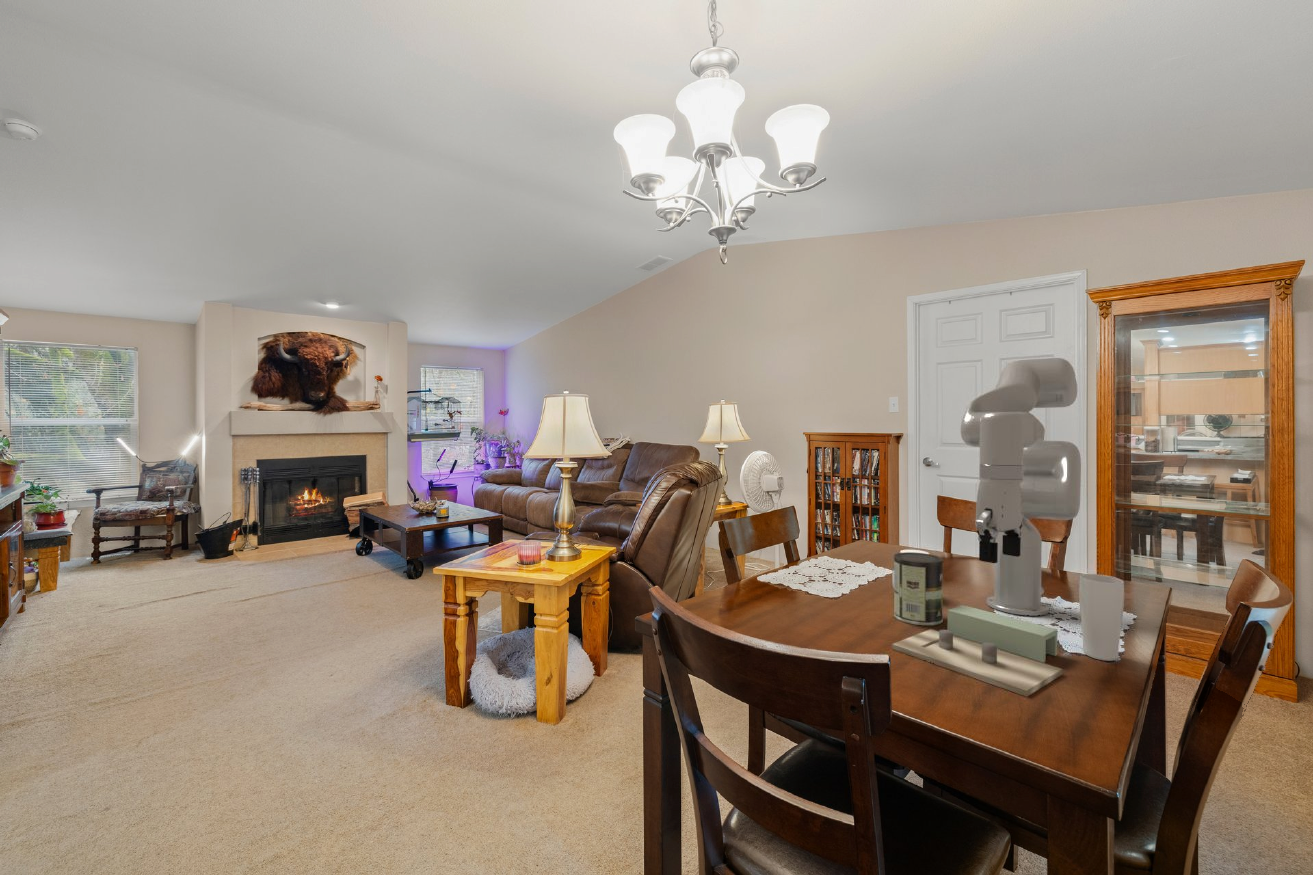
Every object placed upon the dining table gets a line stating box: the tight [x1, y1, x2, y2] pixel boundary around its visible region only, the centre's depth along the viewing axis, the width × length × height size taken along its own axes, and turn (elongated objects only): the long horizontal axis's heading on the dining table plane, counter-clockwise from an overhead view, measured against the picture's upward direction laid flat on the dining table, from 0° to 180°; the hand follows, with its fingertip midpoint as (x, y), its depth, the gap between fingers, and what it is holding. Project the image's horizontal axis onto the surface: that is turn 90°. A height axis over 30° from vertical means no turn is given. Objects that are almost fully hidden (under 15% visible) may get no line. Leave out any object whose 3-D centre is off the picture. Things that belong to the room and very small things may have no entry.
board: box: [891, 628, 1063, 697], centre depth 106 cm, size 14×24×4 cm, turn 35°
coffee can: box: [893, 552, 944, 627], centre depth 129 cm, size 10×10×14 cm
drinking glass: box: [1078, 573, 1125, 662], centre depth 108 cm, size 7×7×15 cm
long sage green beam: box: [947, 604, 1058, 664], centre depth 114 cm, size 6×18×5 cm, turn 35°
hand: (1000, 558), depth 113 cm, fingers open, 9 cm apart
